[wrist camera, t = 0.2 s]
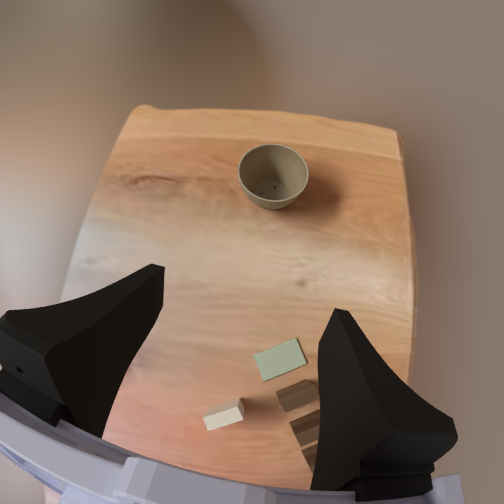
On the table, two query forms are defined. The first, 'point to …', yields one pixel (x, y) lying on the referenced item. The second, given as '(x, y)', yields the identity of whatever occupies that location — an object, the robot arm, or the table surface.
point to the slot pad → (279, 359)
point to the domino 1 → (224, 414)
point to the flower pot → (272, 175)
